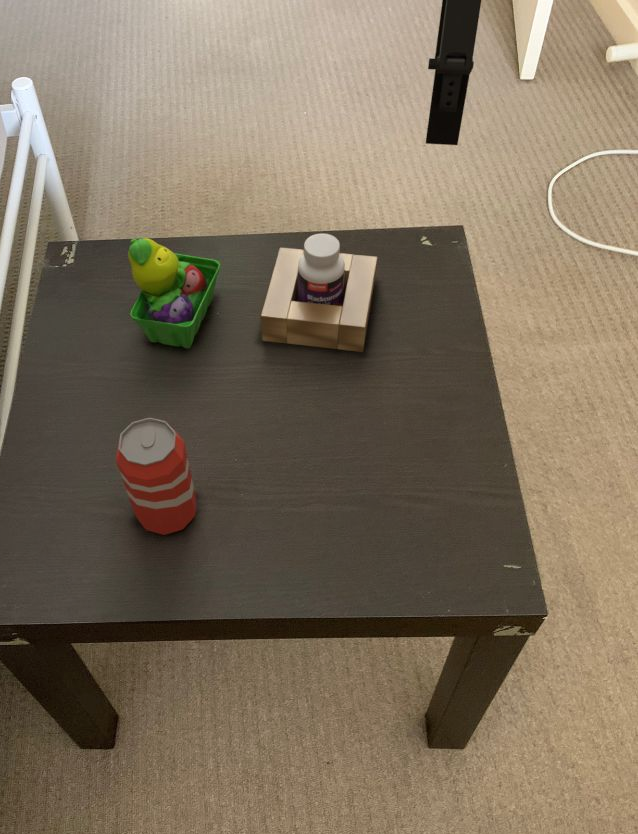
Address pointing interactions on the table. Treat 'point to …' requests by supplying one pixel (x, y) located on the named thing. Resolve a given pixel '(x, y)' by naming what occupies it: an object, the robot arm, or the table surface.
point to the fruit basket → (170, 292)
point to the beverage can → (156, 475)
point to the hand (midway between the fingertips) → (445, 99)
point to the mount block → (318, 306)
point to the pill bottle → (321, 271)
